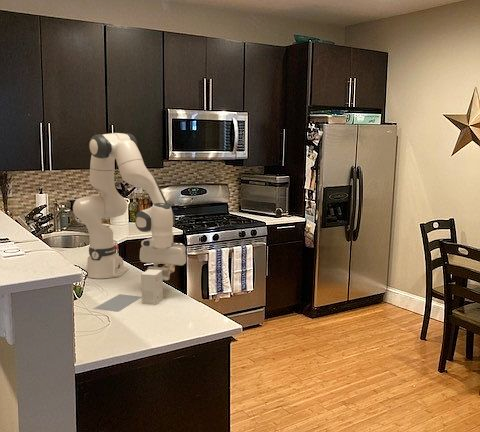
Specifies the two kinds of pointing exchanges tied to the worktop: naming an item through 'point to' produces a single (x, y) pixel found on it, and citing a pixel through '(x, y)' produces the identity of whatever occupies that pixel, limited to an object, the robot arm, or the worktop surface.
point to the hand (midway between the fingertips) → (163, 273)
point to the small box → (152, 286)
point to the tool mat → (118, 303)
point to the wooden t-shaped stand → (164, 271)
